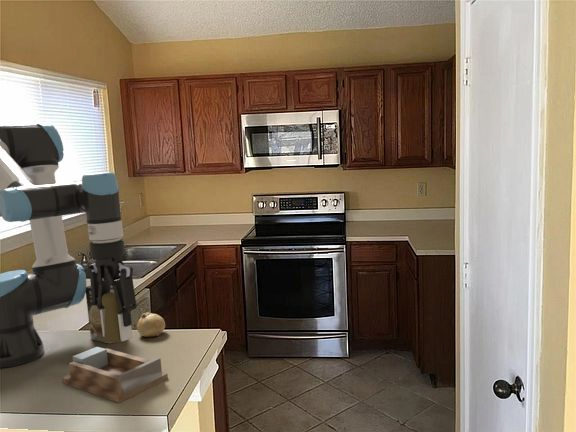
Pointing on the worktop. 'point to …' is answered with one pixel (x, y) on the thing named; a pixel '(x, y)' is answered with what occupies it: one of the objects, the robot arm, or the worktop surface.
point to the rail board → (116, 376)
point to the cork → (111, 318)
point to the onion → (150, 325)
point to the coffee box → (94, 317)
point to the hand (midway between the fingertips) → (117, 336)
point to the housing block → (93, 357)
